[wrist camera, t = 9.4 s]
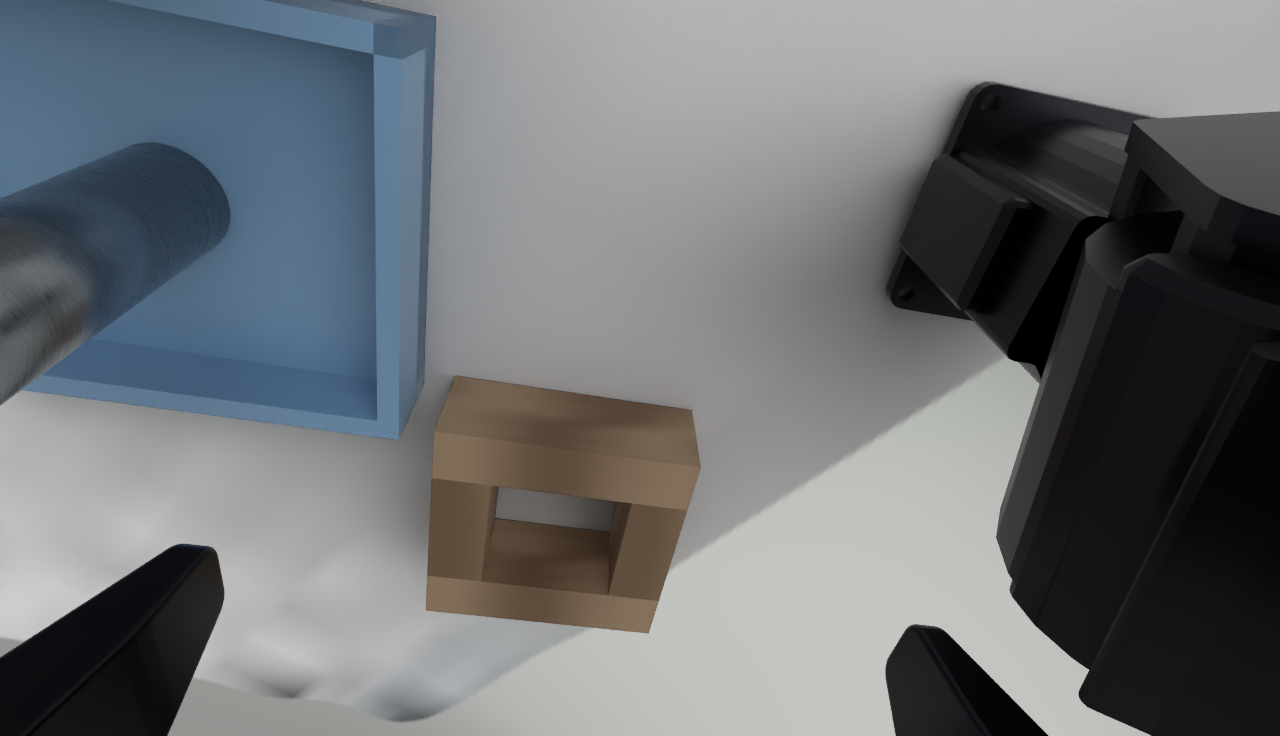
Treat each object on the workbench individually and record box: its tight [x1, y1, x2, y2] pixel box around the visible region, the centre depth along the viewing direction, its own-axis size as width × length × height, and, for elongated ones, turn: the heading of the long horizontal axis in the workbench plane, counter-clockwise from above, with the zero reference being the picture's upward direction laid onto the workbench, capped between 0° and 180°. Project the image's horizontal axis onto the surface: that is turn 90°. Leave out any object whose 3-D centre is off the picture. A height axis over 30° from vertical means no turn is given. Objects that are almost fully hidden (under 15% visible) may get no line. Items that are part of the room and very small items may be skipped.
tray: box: [0, 0, 436, 440], centre depth 17 cm, size 13×11×3 cm
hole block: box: [426, 376, 701, 633], centre depth 23 cm, size 8×8×3 cm
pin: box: [0, 142, 231, 405], centre depth 13 cm, size 4×4×11 cm
